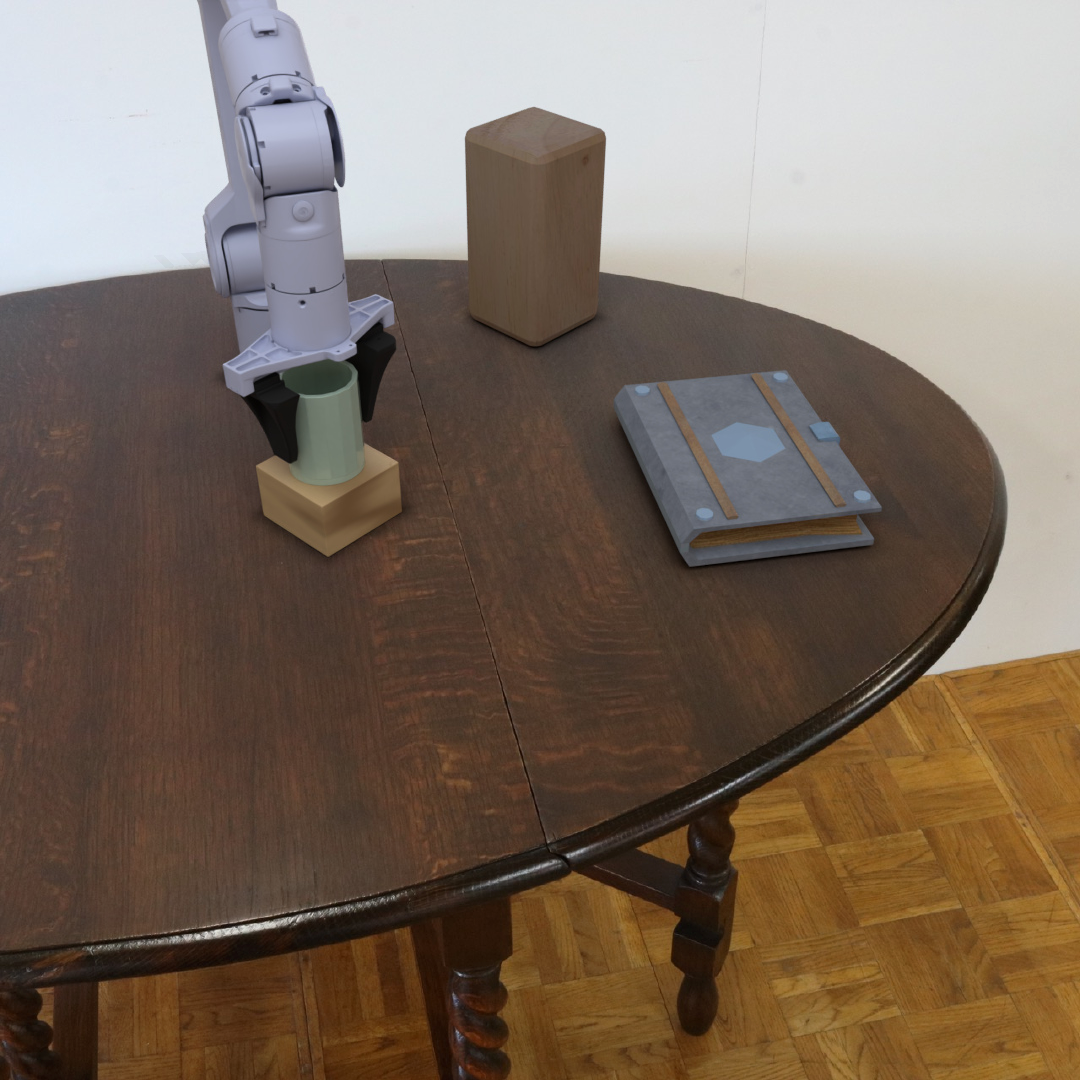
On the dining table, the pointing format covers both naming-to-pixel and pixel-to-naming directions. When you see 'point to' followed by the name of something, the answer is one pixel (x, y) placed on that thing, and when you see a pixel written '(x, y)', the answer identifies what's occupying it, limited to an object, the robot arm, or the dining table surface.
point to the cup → (327, 422)
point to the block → (331, 502)
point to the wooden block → (534, 223)
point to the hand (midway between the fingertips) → (324, 436)
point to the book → (744, 467)
